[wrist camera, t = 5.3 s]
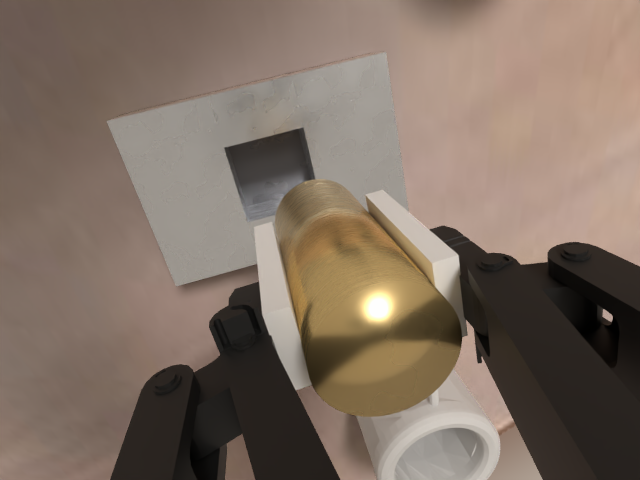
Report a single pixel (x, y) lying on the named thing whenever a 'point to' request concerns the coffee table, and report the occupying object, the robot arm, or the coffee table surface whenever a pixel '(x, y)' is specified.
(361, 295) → the brass cylinder rod
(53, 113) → the coffee table surface
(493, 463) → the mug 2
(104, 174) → the coffee table surface
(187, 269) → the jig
